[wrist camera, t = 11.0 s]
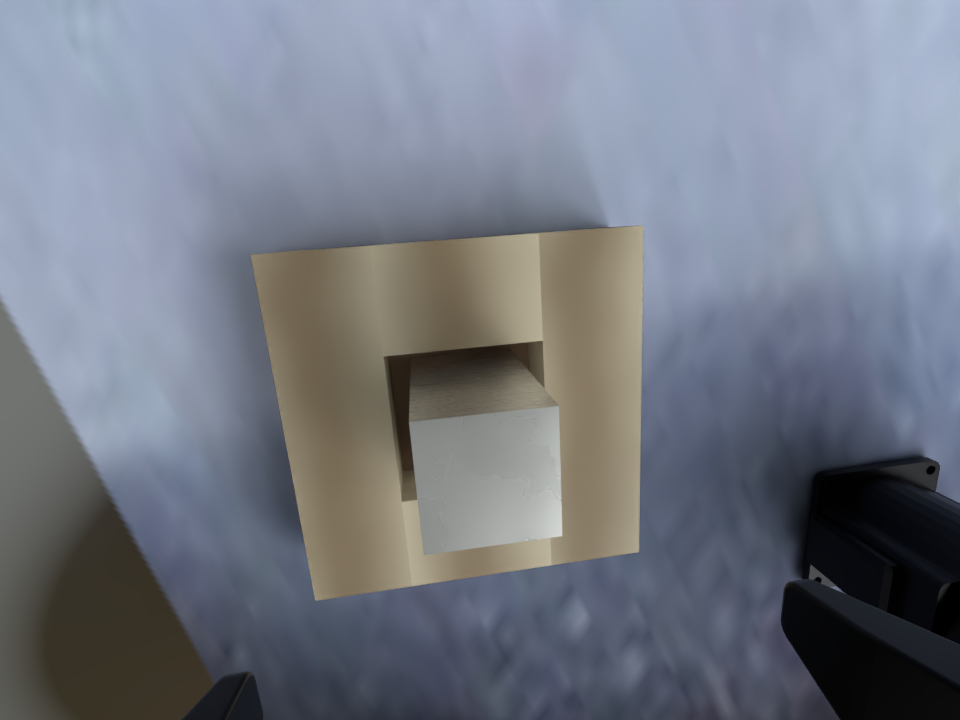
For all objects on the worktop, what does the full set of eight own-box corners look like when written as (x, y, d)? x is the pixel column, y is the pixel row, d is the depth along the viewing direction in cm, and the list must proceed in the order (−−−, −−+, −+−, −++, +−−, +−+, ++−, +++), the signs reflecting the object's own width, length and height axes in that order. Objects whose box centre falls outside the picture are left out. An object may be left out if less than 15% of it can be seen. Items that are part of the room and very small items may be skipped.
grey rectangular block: (509, 348, 20) (559, 405, 13) (514, 438, 21) (562, 536, 14) (410, 357, 19) (408, 422, 13) (420, 449, 20) (423, 555, 14)
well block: (609, 227, 20) (643, 225, 17) (610, 512, 23) (638, 551, 20) (276, 251, 18) (250, 254, 15) (328, 551, 21) (315, 600, 19)
